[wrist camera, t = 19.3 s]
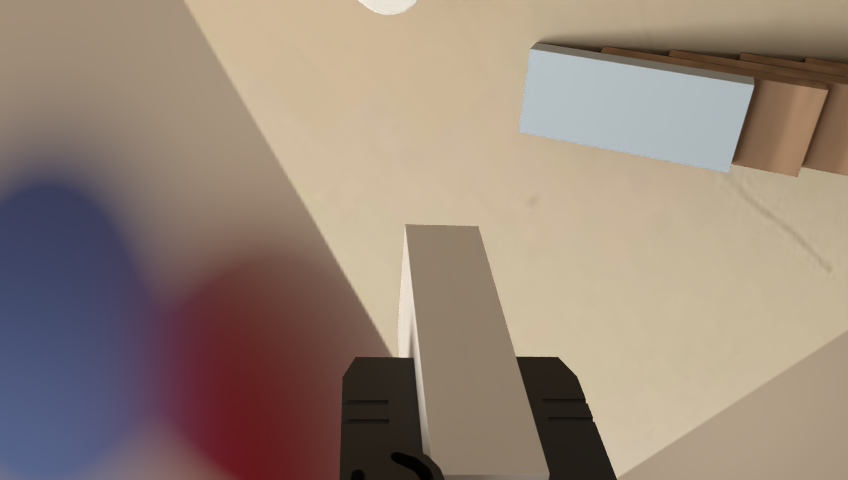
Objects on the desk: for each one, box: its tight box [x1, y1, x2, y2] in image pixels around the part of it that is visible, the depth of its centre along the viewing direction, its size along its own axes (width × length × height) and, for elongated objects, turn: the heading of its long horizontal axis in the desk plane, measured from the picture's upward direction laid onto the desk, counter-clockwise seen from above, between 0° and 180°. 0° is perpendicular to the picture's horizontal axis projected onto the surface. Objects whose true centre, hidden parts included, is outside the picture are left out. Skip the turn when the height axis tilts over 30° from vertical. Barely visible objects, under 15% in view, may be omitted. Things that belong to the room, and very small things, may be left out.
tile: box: [518, 43, 754, 173], centre depth 42 cm, size 2×5×12 cm
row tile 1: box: [600, 46, 828, 177], centre depth 42 cm, size 2×5×12 cm
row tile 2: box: [668, 50, 848, 176], centre depth 43 cm, size 2×5×12 cm
